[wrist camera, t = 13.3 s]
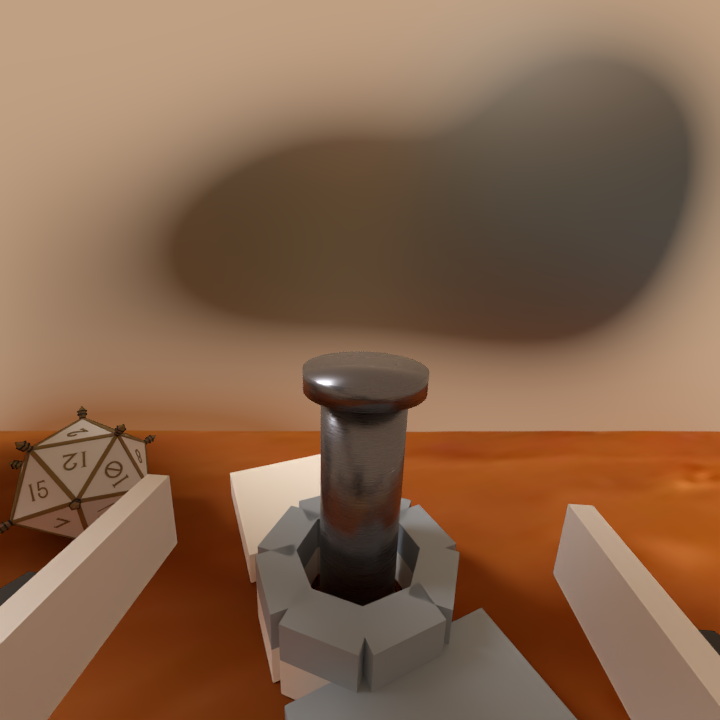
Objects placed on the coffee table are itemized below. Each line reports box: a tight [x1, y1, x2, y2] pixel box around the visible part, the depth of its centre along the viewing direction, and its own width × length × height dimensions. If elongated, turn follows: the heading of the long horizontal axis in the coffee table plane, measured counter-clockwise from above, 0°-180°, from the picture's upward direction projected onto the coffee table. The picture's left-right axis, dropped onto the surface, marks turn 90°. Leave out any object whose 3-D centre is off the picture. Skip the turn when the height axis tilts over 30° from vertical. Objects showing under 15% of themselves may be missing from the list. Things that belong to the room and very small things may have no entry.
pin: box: [303, 352, 429, 606], centre depth 18 cm, size 6×6×14 cm
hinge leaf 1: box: [230, 454, 413, 700], centre depth 23 cm, size 18×10×2 cm, turn 26°
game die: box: [0, 406, 156, 539], centre depth 24 cm, size 9×8×10 cm
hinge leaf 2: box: [255, 496, 577, 720], centre depth 16 cm, size 18×10×4 cm, turn 26°
